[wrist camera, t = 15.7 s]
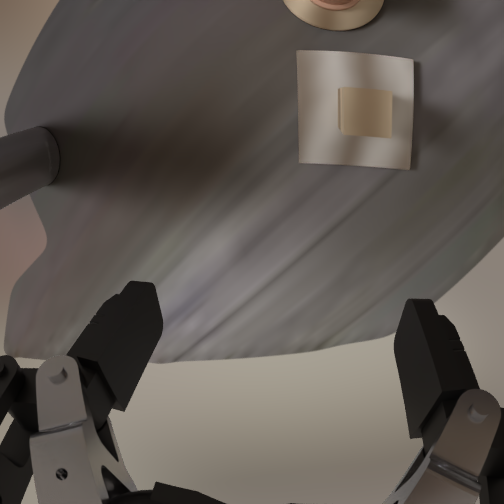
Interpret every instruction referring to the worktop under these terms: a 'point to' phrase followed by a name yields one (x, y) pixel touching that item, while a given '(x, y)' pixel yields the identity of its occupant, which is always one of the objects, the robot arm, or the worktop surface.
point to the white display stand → (355, 109)
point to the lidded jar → (335, 4)
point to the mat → (335, 14)
